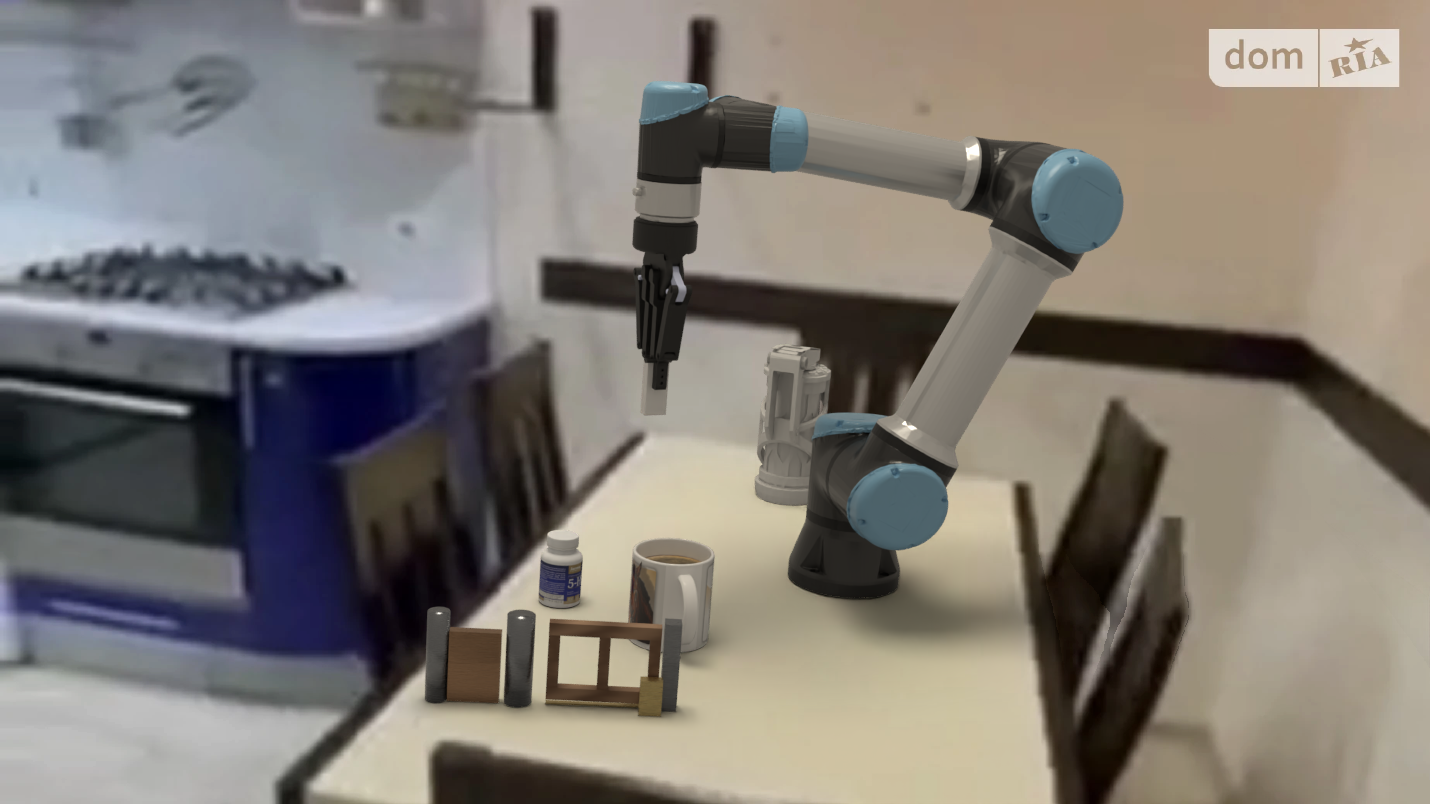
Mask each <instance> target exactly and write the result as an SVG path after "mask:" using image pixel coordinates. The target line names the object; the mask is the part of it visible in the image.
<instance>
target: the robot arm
mask: <svg viewBox="0 0 1430 804" xmlns="http://www.w3.org/2000/svg"><path fill="white" fill-rule="evenodd" d="M708 91H709V90H708V88H707V86H705V85H704V84H699V83H692V82H691V83H690V82H683V81H681V82H680V81H668V80H653V81H651V82H648V83H647V84H646V86H645V87H644V89H643V92H642V99H641V100H642V102H641V107H640V114H639V115H640V116H639V119H638V123H639V125H638V126H639V127H638V129H639V130H638V148H637V151H638V152H637V168H636V169H637V172H636V184H635V185H636V187H633V188H632V190H631V191H632V195H633V196H635V200H634V201H635V202H634V210H635V212H636V213H637V214H639V216H636V217H635V218H634V219H633V227H632V229H633V230H632V243H631V244H632V247H633V248H634V249H635V250H636V251H639V252H643V253H644V254H643V258H642V265H641V267H634V268H633V271H632V274H633V280H634V286H635V317H636V318H635V319H636V322H635V324H636V326H635V327H636V330H635V331H636V348H637V350H641V356H642V358H643V364H642V365H643V366H642V383H641V398H640V411H639V412H640V413H641V414H642V415H643V416H666V415H667V406H668V405H667V403H668V401H667V400H668V390H669V389H668V388H669V376H670V375H669V373H670V363H672V362H673V361H678V360H679V357H680V352H681V346H682V340H683V335H684V329H685V323H686V317H687V312H688V306H689V303H690V299H691V297H692V294H693V286H692V285H691V284H685V283H684V281H685V268H684V256H686V255H692V254H694V253H695V252H696V250H697V249H698V248H697V247H698V234H699V233H698V232H699V223H697V220H695V218H698V216H699V215H700V212H701V211H700V210H701V209H700V208H701V200H702V199H701V198H702V178H703V177H702V174H703V171H704V170H703V169H705V168H709V169H727V170H742V171H743V170H745V171H758V172H770V173H771V174H775V173H777V172H778V173H779V172H781V173H783V172H784V173H785V172H787V173H791V172H798V173H802V174H803V173H804V174H808V175H812V176H819V177H823V178H829V179H835V180H839V181H845V182H851V183H854V184H855V183H856V184H860V185H861V184H862V185H864V186H865V185H866V186H871V187H876V188H881V189H887V190H892V191H897V192H901V193H902V192H903V193H908V194H913V195H917V196H918V195H919V196H924V197H929V198H935V199H938V200H939V199H940V200H944V201H947V202H948V203H949V205H950V207H951V208H952V209H953V210H955V211H960V212H961V211H962V212H966V213H971V214H974V215H978V216H980V217H984V218H986V219H988V220H992V222H991V223H990V225H989V227H988V229H987V230H988V234H989V237H990V241H991V248H990V250H989V252H988V253H987V255H986V257H985V258H984V260H983V262H982V263H981V265H980V267H979V269H978V271H977V272H976V274H975V276H974V277H973V279H972V281H971V283H970V284H969V285H968V288H967V290H965V293H964V294H963V297H962V298H961V300H960V301H959V304H958V305H957V307H956V308H955V310H954V312H953V313H952V315H951V317H950V319H949V320H948V322H947V323H946V326H945V328H944V329H943V331H942V332H941V335H939V337H938V339H937V341H936V342H935V345H934V346H933V348H932V350H931V351H930V353H929V355H928V357H927V358H926V360H925V361H924V364H923V365H922V366H921V369H920V370H919V371H918V373H917V375H916V378H915V379H914V381H913V383H912V384H911V386H910V388H909V390H908V391H907V392H906V394H905V396H904V399H903V400H902V401H901V404H900V405H899V407H898V408H897V410H896V412H895V413H894V414H892V415H883V414H875V413H864V412H832V413H831V412H829V413H827V414H824V415H822V416H820V417H819V418H818V419H817V420H816V423H815V428H814V434H813V436H812V441H813V443H812V454H811V465H810V476H809V488H808V499H807V504H806V511H805V512H806V513H805V519H804V524H803V525H802V528H801V529H800V532H799V535H798V536H797V539H796V541H795V544H794V546H793V548H792V551H791V552H790V555H789V558H788V566H787V577H788V579H789V580H790V581H791V582H792V583H794V584H795V585H797V586H798V587H801V588H802V589H804V590H808V591H810V592H813V593H816V594H821V595H823V596H829V597H835V598H844V599H873V598H879V597H884V596H887V595H890V594H892V593H894V592H895V591H897V589H898V587H899V585H900V575H901V567H900V563H899V558H898V554H897V551H905V550H909V549H912V548H916V547H919V546H921V545H922V544H924V543H926V542H928V541H929V540H930V539H932V538H933V536H935V535H936V534H937V533H938V531H939V530H940V528H941V527H943V524H944V523H945V520H946V517H947V515H948V511H949V499H948V497H949V495H948V491H947V490H948V489H947V487H948V485H949V484H950V482H951V480H952V478H953V476H954V475H955V473H956V471H957V470H958V468H959V461H958V457H957V454H956V449H957V445H958V444H959V442H960V440H961V439H962V437H963V435H964V433H965V432H966V430H967V428H968V427H969V425H970V423H971V422H972V420H973V419H974V416H975V414H976V413H977V412H978V410H979V408H980V406H981V404H982V403H983V401H984V400H985V398H986V396H987V394H988V393H989V391H990V389H991V388H992V386H993V384H994V382H995V381H996V379H997V378H998V377H999V376H998V375H999V374H1000V372H1001V370H1002V369H1003V367H1004V366H1005V364H1006V362H1007V360H1008V358H1009V357H1010V356H1011V353H1012V352H1013V350H1014V349H1015V347H1016V346H1017V343H1018V342H1019V340H1020V338H1021V336H1022V335H1023V333H1024V331H1025V330H1026V328H1027V327H1028V325H1029V323H1030V321H1031V320H1032V318H1033V316H1034V315H1035V313H1036V311H1037V310H1038V308H1039V306H1040V305H1041V302H1042V301H1043V299H1044V298H1045V295H1046V294H1047V293H1048V291H1049V289H1050V287H1051V285H1052V284H1053V283H1054V282H1055V281H1056V280H1060V279H1061V278H1066V277H1069V276H1072V274H1073V273H1074V271H1075V270H1076V267H1077V266H1078V265H1079V263H1080V261H1081V260H1082V258H1083V256H1084V254H1085V253H1088V252H1091V251H1094V250H1095V249H1098V248H1100V247H1102V246H1103V245H1105V244H1106V243H1107V242H1108V241H1109V240H1110V239H1111V238H1112V237H1113V236H1114V234H1115V233H1116V231H1117V230H1118V227H1119V226H1120V223H1121V220H1122V216H1123V212H1124V194H1123V191H1122V185H1121V182H1120V180H1119V178H1118V175H1117V174H1116V173H1115V171H1114V170H1113V169H1112V167H1111V166H1110V165H1109V164H1107V163H1106V162H1105V161H1103V159H1100V158H1099V157H1097V156H1095V155H1093V154H1092V153H1091V154H1090V153H1087V152H1086V151H1084V150H1082V149H1079V148H1067V147H1062V146H1058V145H1054V144H1051V143H1046V142H1041V141H1027V140H1025V141H1024V140H1023V141H1022V140H1005V139H1004V140H1003V139H992V138H991V139H990V138H985V137H978V136H974V135H968V136H966V137H964V138H963V139H961V140H960V141H959V140H953V139H947V138H943V137H937V136H933V135H926V134H924V133H917V132H912V131H909V130H902V129H897V128H892V127H888V126H887V127H886V126H882V125H877V124H876V125H875V124H872V123H865V122H861V121H855V120H851V119H844V118H841V117H835V116H831V115H826V114H821V113H815V112H811V111H804V110H801V109H799V108H797V107H788V106H787V107H786V106H783V105H773V104H768V103H763V102H759V101H754V100H749V99H744V98H741V97H739V96H735V95H729V94H725V95H719V96H715V97H713V98H711V99H710V98H709V96H708V95H709V93H708Z"/></svg>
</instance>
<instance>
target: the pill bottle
mask: <svg viewBox="0 0 1430 804" xmlns="http://www.w3.org/2000/svg"><path fill="white" fill-rule="evenodd" d="M579 544H580V535H579V534H578V533H577V532H576V531H573V530H569V529H568V530H567V529H555V530H551V531H549V532H547V536H546V546H547V547H546V548H545V549H543V550H542V552H541V554H540V560H539V561H540V564H539V565H540V566H539V581H538V583H539V584H538V601H539V602H540V604H542V605H544V606H546V607H550V608H553V609H554V608H555V609H567V608H573V607H575V606H577V605H579V603H580V602H581V593H582V578H583V577H582V574H583V562H584V561H583V560H584V557H583V554H582V551H580V550H579V549H578V548H579Z"/></svg>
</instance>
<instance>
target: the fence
mask: <svg viewBox="0 0 1430 804" xmlns="http://www.w3.org/2000/svg"><path fill="white" fill-rule="evenodd" d="M451 611H452V610H450V608H448V607H445V606H433V607H430V608H428V609H427V616H426V617H427V618H426V645H425V649H426V650H425V676H424V677H425V679H424V700H425V701H426V702H427V703H432V704H442V703H444V702H460V703H462V702H463V703H479V704H480V703H481V704H482V703H483V704H499V701H500V690H501V666H502V665H501V664H502V646H503V645H502V644H503V629H501V628H499V629H498V628H479V627H475V628H474V627H461V626H460V627H459V626H458V627H456V626H451ZM506 618H507V619H506V638H505V639H506V640H505V659H504V660H505V661H504V662H505V663H504V682H503V684H504V685H503V704H504V705H506V706H507V707H511V708H517V709H519V708H520V709H521V708H526V707H529V706H530V705H531V704H532V700H533V699H532V697H533V681H534V678H533V677H534V661H535V660H534V659H535V658H534V657H535V641H536V624H537V621H536V620H537V619H536V618H537V615H536V612H534V611H531V610H528V609H513V610H510V611H509V612H507V616H506ZM544 702H545V703H544V704H545V705H560V706H582V707H583V706H584V707H585V706H586V707H604V708H605V707H609V708H628V709H630V708H631V709H634V708H635V709H638V706H639V704H629V703H609V702H588V701H568V700H547V699H545V701H544Z"/></svg>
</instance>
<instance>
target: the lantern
mask: <svg viewBox="0 0 1430 804" xmlns="http://www.w3.org/2000/svg"><path fill="white" fill-rule="evenodd" d="M771 349H772V350H771V351H769V352H768V353H767V355H766V362H765V363H764V367H763V374H764V375H765V376H767V377H766V390H767V391H766V395H765V396H764V397H763V399H762V401H761V404H760V412H759V424H758V436H757V437H758V438H757V445H756V446H757V449H756V455H757V457H758V460H759V461H760V463H761V464H762V465H760V466H759V467H758V474H756V476H755V477H754V490H755V495H756V496H757V497H758V498H759V499H761V500H762V501H764V502H768V503H772V504H775V505H776V504H777V505H783V506H804V505H806V506H807V499H808V488H809V476H810V465H811V454H812V443H813V441H812V436H813V434H814V428H815V423H816V420H817V419H818V418H819V417H820V416H822V415H824V414H828V409H829V395H830V386H831V385H830V384H831V376H832V370H831V369H830V368H828V367H827V366H826V365H824V364H821V363H820V364H819V361H820V359H821V358H820V357H821V348H817V347H810V346H802V345H795V344H789V343H788V344H787V343H785V344H782V343H780V344H776V345H775V346H772V347H771ZM821 403H822V406H823V408H822V410H821V411H820V409H821ZM763 429H764V430H763ZM763 431H764V432H763Z"/></svg>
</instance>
